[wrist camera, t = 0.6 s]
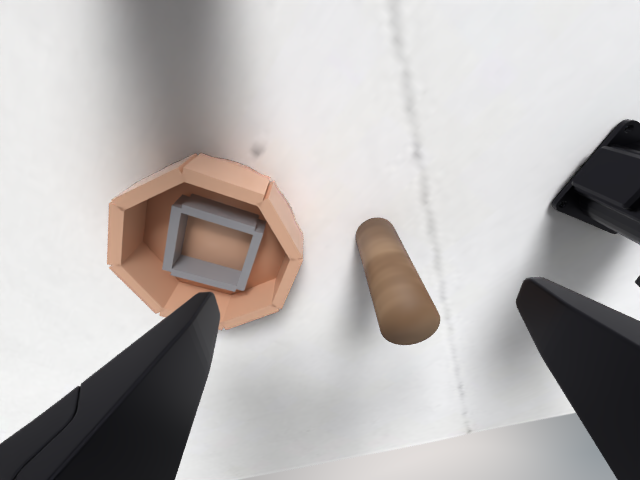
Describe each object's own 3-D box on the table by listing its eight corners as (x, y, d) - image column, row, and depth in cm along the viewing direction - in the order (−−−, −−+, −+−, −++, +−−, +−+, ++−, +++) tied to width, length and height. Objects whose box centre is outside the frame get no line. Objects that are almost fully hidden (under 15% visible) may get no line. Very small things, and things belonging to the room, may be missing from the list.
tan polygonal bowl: (320, 192, 20) (322, 214, 17) (272, 307, 26) (267, 340, 23) (145, 129, 18) (111, 142, 15) (132, 271, 23) (105, 303, 20)
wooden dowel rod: (401, 225, 22) (452, 311, 14) (383, 256, 23) (419, 350, 16) (366, 212, 21) (398, 295, 14) (349, 245, 23) (370, 337, 15)
